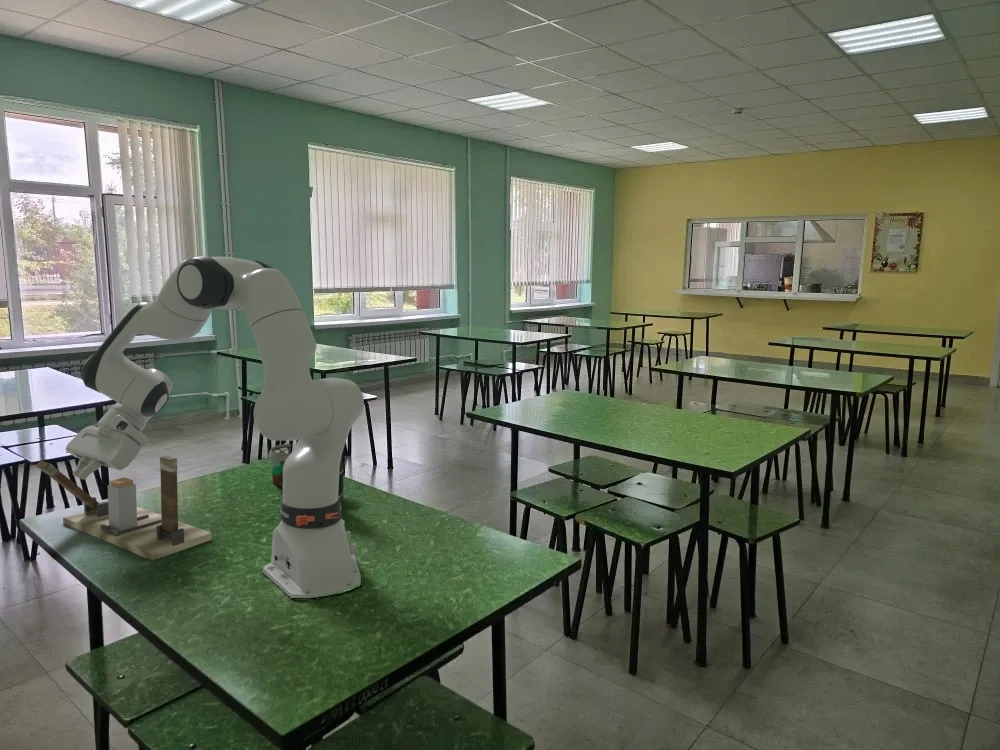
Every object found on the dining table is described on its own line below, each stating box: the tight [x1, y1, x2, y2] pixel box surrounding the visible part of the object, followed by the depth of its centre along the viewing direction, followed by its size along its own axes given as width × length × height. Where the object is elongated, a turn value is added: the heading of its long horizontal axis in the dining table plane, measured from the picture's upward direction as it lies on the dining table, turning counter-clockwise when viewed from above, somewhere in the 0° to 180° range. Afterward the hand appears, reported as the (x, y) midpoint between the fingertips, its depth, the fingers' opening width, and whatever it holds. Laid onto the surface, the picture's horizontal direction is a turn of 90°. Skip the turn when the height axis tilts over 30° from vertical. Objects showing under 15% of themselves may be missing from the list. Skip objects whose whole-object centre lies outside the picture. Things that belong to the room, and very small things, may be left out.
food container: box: [267, 443, 292, 487], centre depth 191 cm, size 12×6×10 cm, turn 17°
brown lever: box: [159, 455, 179, 539], centre depth 143 cm, size 2×4×18 cm, turn 60°
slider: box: [107, 477, 138, 532], centre depth 149 cm, size 4×4×11 cm
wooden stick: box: [35, 459, 100, 511], centre depth 152 cm, size 2×4×18 cm
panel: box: [62, 496, 213, 562], centre depth 152 cm, size 34×14×5 cm, turn 60°
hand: (78, 477), depth 153 cm, fingers closed
